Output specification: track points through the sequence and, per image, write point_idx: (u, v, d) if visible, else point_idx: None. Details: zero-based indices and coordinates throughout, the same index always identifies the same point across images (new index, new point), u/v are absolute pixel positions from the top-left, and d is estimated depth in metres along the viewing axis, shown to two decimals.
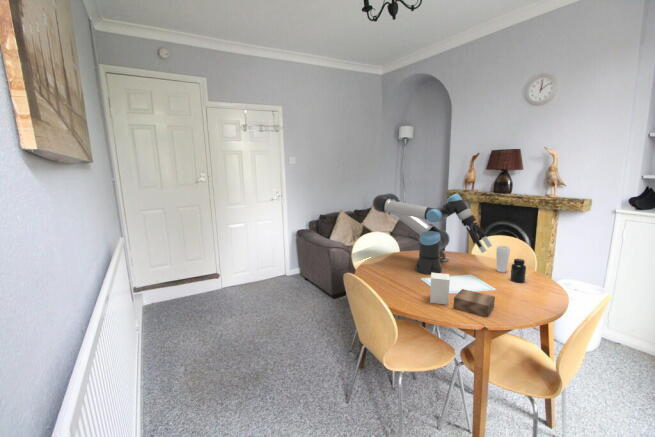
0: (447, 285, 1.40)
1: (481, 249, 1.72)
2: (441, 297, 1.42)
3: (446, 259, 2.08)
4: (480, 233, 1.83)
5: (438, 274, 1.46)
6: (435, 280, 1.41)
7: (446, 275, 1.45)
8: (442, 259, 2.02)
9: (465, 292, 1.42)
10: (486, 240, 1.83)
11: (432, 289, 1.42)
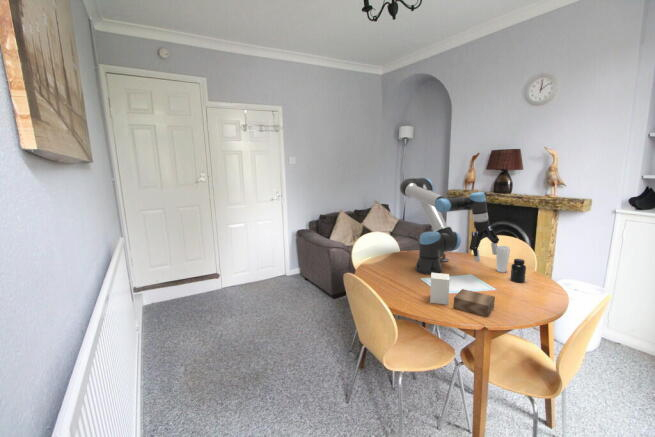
0: (447, 285, 1.40)
1: (476, 258, 1.67)
2: (441, 297, 1.42)
3: (446, 259, 2.08)
4: (490, 239, 1.70)
5: (438, 274, 1.46)
6: (435, 280, 1.41)
7: (446, 275, 1.45)
8: (442, 259, 2.02)
9: (465, 292, 1.42)
10: (494, 247, 1.71)
11: (432, 289, 1.42)
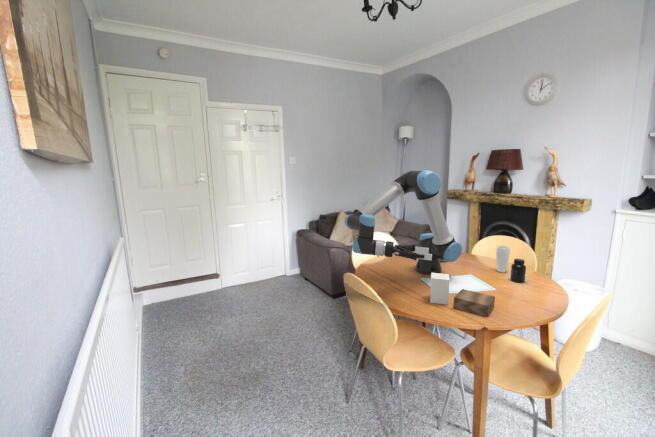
0: (447, 285, 1.40)
1: None
2: (441, 297, 1.42)
3: None
4: None
5: (438, 274, 1.46)
6: (435, 280, 1.41)
7: (446, 275, 1.45)
8: None
9: (465, 292, 1.42)
10: None
11: (432, 289, 1.42)
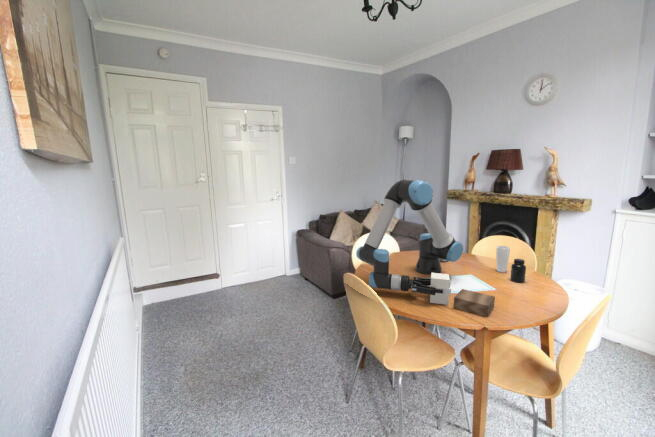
0: (447, 285, 1.40)
1: None
2: (441, 297, 1.42)
3: None
4: None
5: (438, 274, 1.46)
6: (435, 280, 1.41)
7: (446, 275, 1.45)
8: (442, 259, 2.02)
9: (465, 292, 1.42)
10: None
11: None
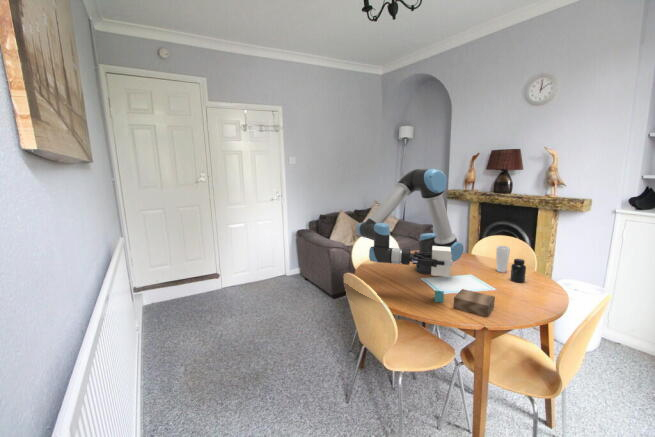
0: (448, 257, 1.38)
1: None
2: (442, 269, 1.39)
3: None
4: None
5: (439, 247, 1.44)
6: (437, 252, 1.39)
7: (447, 248, 1.43)
8: None
9: (465, 292, 1.42)
10: None
11: None
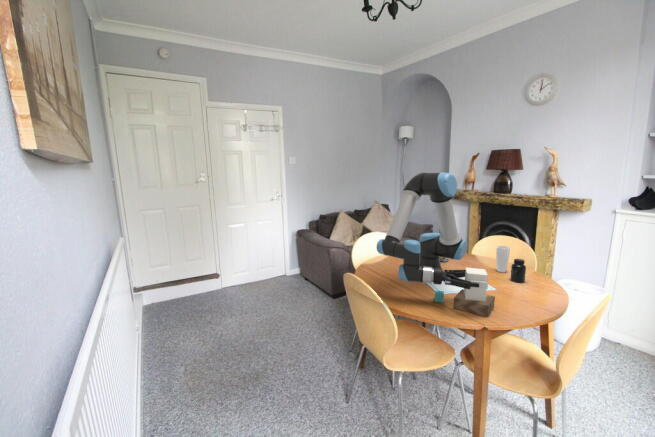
0: (485, 281, 1.31)
1: None
2: (478, 293, 1.33)
3: (446, 259, 2.08)
4: None
5: (473, 269, 1.38)
6: (472, 276, 1.32)
7: (482, 270, 1.36)
8: (442, 259, 2.02)
9: None
10: None
11: None
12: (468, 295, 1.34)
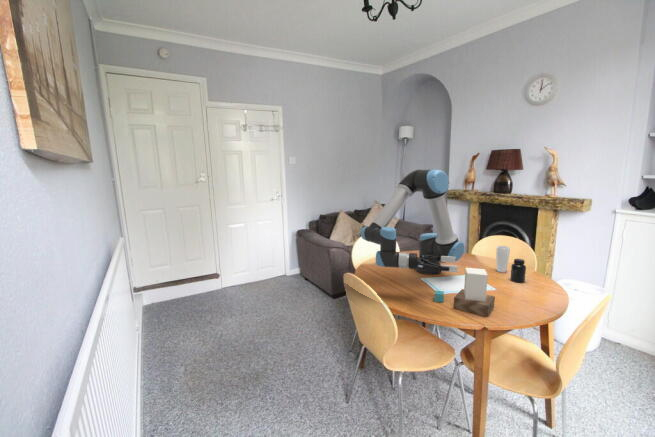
0: (485, 281, 1.31)
1: None
2: (478, 293, 1.33)
3: None
4: None
5: (473, 269, 1.38)
6: (472, 276, 1.32)
7: (482, 270, 1.36)
8: None
9: None
10: None
11: (468, 285, 1.34)
12: (468, 295, 1.34)
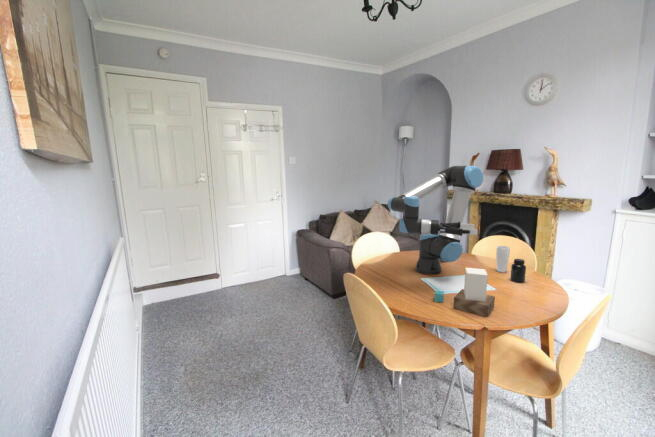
0: (485, 281, 1.31)
1: None
2: (478, 293, 1.33)
3: None
4: None
5: (473, 269, 1.38)
6: (472, 276, 1.32)
7: (482, 270, 1.36)
8: None
9: None
10: None
11: (468, 285, 1.34)
12: (468, 295, 1.34)
